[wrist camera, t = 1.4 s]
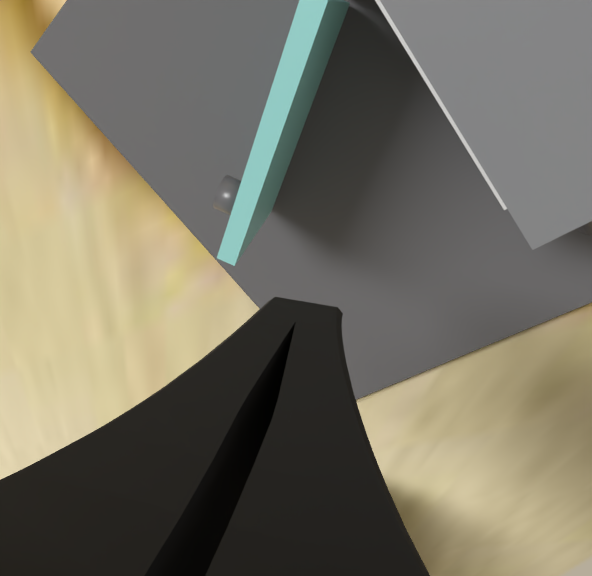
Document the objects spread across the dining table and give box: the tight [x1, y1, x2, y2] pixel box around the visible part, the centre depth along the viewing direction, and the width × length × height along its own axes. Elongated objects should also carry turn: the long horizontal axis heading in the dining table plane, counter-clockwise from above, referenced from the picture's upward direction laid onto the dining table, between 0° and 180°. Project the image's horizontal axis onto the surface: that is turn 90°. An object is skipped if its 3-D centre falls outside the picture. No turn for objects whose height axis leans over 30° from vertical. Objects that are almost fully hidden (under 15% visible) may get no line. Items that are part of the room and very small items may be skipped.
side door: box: [213, 0, 350, 266], centre depth 14 cm, size 2×8×5 cm, turn 159°
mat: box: [31, 0, 592, 399], centre depth 14 cm, size 24×20×1 cm
